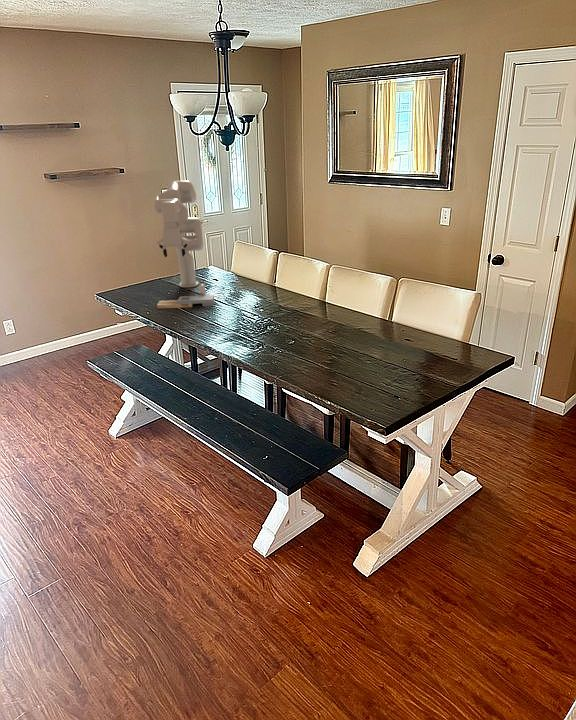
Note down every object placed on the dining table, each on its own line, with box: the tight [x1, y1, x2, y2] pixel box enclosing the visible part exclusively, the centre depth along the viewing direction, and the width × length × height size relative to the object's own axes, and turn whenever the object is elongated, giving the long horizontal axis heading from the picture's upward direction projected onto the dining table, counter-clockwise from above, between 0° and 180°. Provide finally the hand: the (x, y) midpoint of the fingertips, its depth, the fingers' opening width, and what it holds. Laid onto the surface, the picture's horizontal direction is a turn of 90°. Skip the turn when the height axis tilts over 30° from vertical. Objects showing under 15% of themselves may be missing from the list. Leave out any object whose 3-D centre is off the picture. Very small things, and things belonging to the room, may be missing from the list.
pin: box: [198, 283, 207, 296], centre depth 321 cm, size 3×3×9 cm
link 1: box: [156, 299, 194, 310], centre depth 314 cm, size 8×20×2 cm, turn 91°
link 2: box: [177, 294, 215, 307], centre depth 314 cm, size 8×20×4 cm, turn 92°
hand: (174, 256), depth 300 cm, fingers open, 9 cm apart
